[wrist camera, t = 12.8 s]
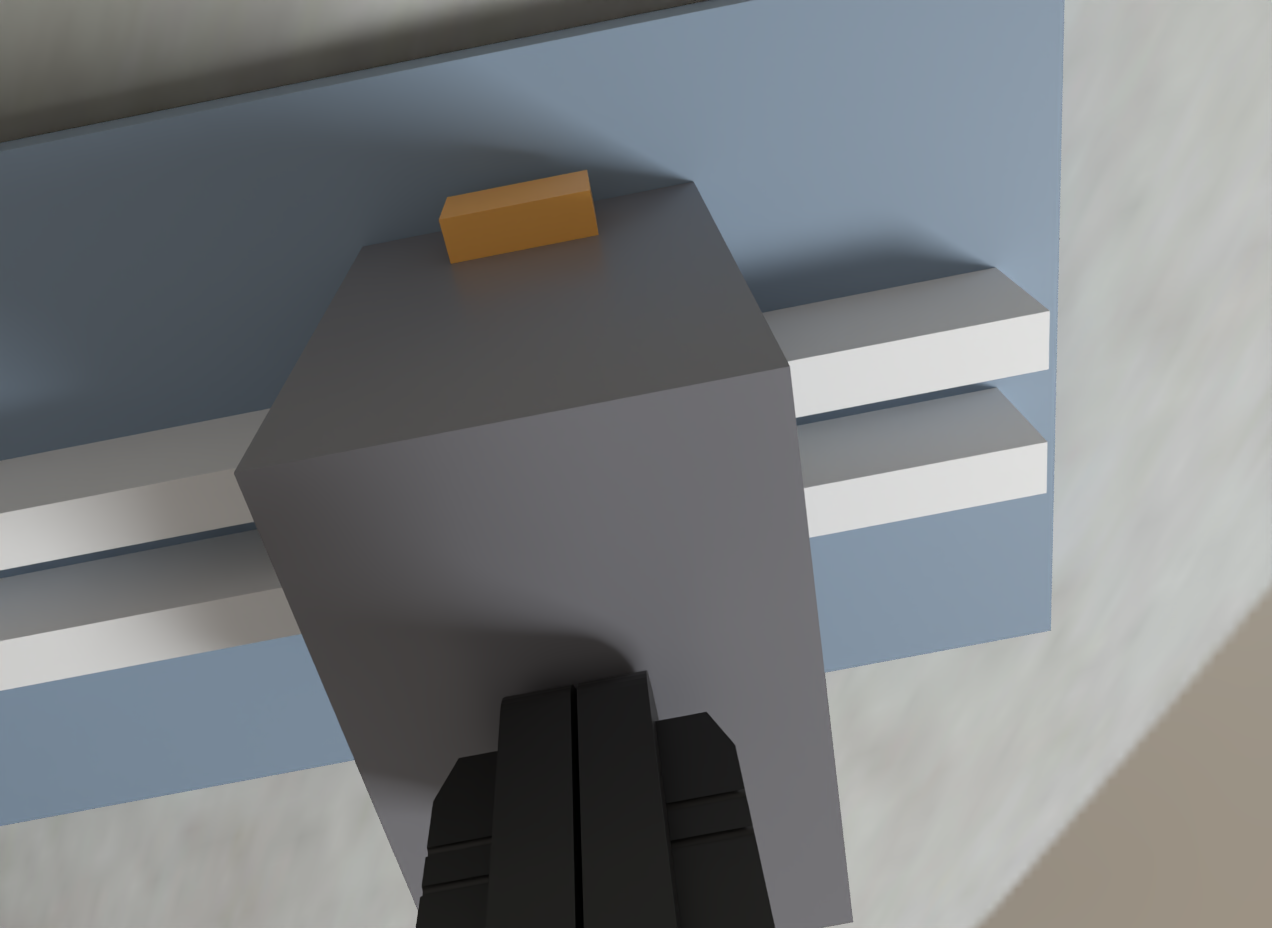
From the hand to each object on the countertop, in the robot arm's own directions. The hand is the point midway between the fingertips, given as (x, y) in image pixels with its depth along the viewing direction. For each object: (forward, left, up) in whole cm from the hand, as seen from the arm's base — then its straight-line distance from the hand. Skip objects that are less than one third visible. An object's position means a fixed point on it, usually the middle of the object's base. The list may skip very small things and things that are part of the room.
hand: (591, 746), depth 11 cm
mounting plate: (0, -3, -8) cm, 9 cm away
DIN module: (0, 0, -7) cm, 7 cm away
